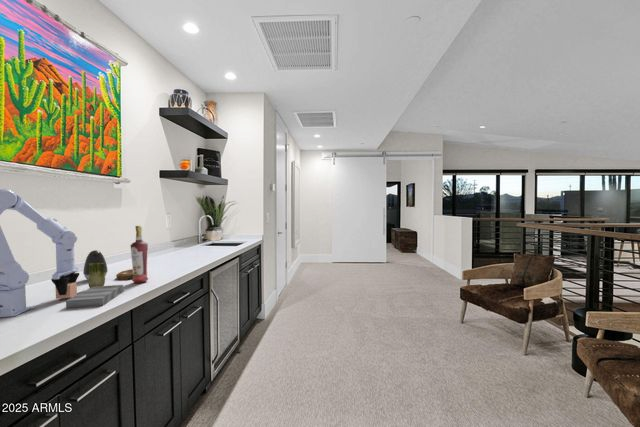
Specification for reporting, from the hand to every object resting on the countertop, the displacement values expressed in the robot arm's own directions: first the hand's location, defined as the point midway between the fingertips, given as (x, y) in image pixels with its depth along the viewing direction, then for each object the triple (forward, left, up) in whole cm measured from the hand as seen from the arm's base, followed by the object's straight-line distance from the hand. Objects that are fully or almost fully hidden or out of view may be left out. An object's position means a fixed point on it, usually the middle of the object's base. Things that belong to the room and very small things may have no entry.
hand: (66, 292), depth 126 cm
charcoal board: (-5, -13, -2) cm, 14 cm away
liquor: (+21, -21, -3) cm, 30 cm away
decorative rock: (+36, -12, -3) cm, 38 cm away
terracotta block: (0, 0, -1) cm, 1 cm away
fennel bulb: (+14, -5, -3) cm, 15 cm away
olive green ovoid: (+35, +4, -3) cm, 35 cm away
